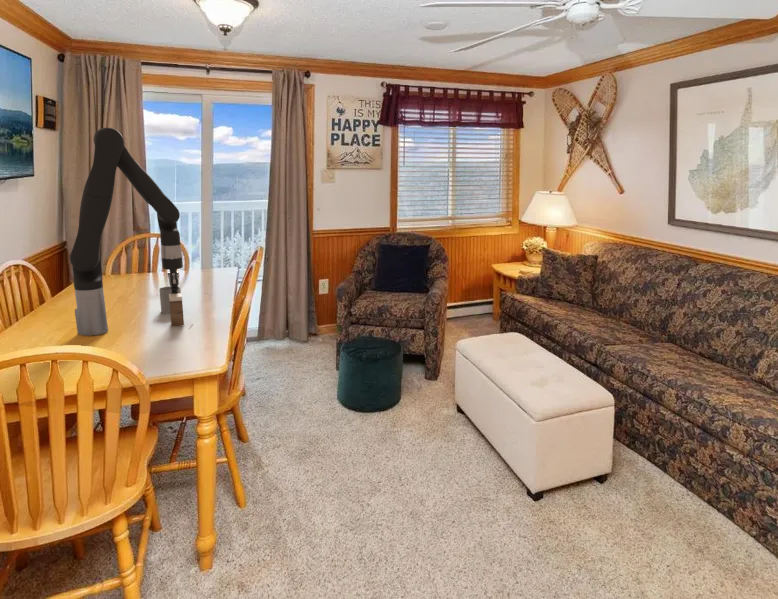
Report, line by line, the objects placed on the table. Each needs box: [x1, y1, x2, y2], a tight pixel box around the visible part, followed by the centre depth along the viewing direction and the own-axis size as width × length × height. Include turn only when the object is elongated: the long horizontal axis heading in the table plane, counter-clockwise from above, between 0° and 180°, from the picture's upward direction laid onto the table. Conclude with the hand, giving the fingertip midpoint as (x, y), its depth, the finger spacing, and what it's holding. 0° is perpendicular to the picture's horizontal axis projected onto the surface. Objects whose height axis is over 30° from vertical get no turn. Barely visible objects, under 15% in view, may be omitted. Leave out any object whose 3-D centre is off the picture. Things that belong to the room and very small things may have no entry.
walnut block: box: [169, 292, 185, 327], centre depth 211 cm, size 4×4×12 cm
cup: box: [159, 285, 182, 314], centre depth 231 cm, size 8×8×10 cm
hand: (175, 299), depth 214 cm, fingers closed
